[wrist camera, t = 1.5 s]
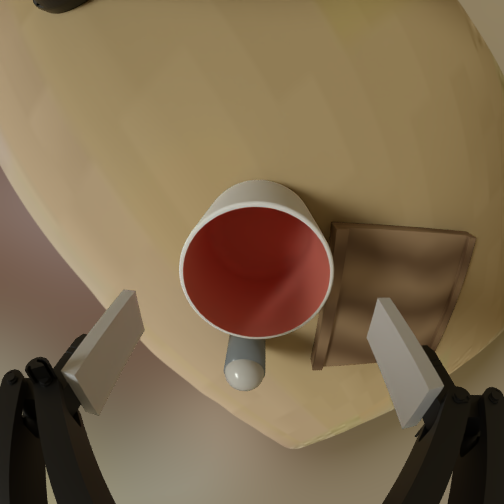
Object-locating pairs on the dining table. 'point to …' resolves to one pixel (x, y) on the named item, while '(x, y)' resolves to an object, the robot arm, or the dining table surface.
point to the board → (388, 286)
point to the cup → (257, 262)
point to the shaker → (245, 363)
